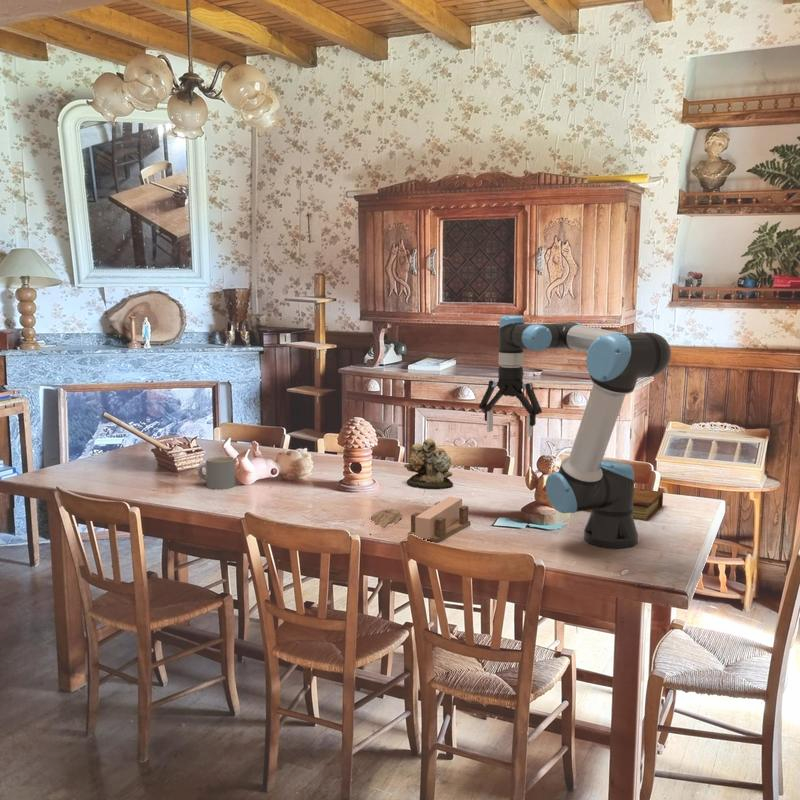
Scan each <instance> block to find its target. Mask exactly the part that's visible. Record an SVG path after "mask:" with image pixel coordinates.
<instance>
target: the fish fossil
mask: <svg viewBox="0 0 800 800" xmlns="http://www.w3.org/2000/svg"><path fill="white" fill-rule="evenodd" d="M372 514H373V513H372ZM368 518H369V517H368ZM370 519H371V520H372V521H374V523H375V525H380V527H382V529H383V528H385V527H386V526H387V525H388V524H392V523H395V524H397V523H398V522H399V521H400V520H401V519H402V513H401V511H400V510H399V509H398V508H387V509H381V510H379V511H376V512H374V514H373V515H372V516H371V518H369V520H370ZM372 521H371V522H372ZM386 528H387V527H386ZM386 528H385V529H386Z"/></svg>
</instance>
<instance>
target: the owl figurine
mask: <svg viewBox="0 0 800 800" xmlns="http://www.w3.org/2000/svg"><path fill="white" fill-rule="evenodd" d="M408 460H409V463H404V466H403V467H404V468H406V469H407V471H408V472H412V473H413V472H414V473H416V474H414V475H412V476H411V477H409V479H407V481H406V483H407V485H408V486H409V487H412V488H417V487H418V488H419V489H422V490H423V489H425V490H445V489H449V488H450V489H451V488H452V487H454V483H453V481H452V480H450V479H449V478H450V477H452V476H453V472H451V471H449V470H450V469H451V466H452V458H451V457H450V456H449V455H448V454H447V452H446V450H445V449H444V448H442V447H438V446H437V445H436V442H435V440H434V439H432V438H426V439H424V441H423V442H422V444H420V443H418V442H417V443H414V444H412V446H411V453H410V456H409V459H408Z"/></svg>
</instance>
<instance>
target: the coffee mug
mask: <svg viewBox="0 0 800 800" xmlns="http://www.w3.org/2000/svg"><path fill="white" fill-rule="evenodd" d="M235 464H236V463H235V457H233V456H229V455H217V456H211V457H207V458H206V460H205V462H201V463H200V464H199V465H198V467H197V475H198V477H199V478H200V479H202V480H204V481H206V487H207V488H208V489H210V490H215V489H217V490H229V489H232V488H234V487H236V466H235ZM203 468H204V469H205V470H206V471H205V472H206V473H205V474H204V473H203Z"/></svg>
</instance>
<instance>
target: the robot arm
mask: <svg viewBox="0 0 800 800" xmlns="http://www.w3.org/2000/svg"><path fill="white" fill-rule="evenodd" d="M551 349H552V350H553V349H568V350H572V351H576V352H577V351H578V352H582V353H586V358H585V361H586V363H587V365H586V368H587V369H586V370H587V371H588V373H589V379H590V381H591V383H592V388H591V391H590V394H589V397H588V400H587V403H586V406H585V409H584V411H583V414H582V417H581V420H580V424H579V427H578V430H577V433H576V436H575V439H574V440H573V441H574V442H573V445H572V448H571V451H570V454H569V456H567V457H565V458H563V459H562V461H561V464H560V466H559V468H558V471H553V472H551V473H550V474H549V475H548V476H547V478H546V480H545V491H546V495H547V499H548V501H549V503H550V505H551V506H552V507H553V508H554V510H556V511H557V512H558V513H561V514H575V513H579V512H585V510H590V509H591V512H590V514H589V517H588V520H587V522H586V525H585V527H584V531H583V539H584V540H585V541H586V542H587V543H589V544H590V545H594V546H597V547H603V548H612V549H623V548H624V549H625V548H630V547H633V546H636V545H637V544H638V541H639V540H638V539H639V533H638V531H637V527H636V523H635V519H633V515H632V513H633V494H634V488H635V481H636V479H635V470H634V467H633V466H632V465H630V464H629V463H626V462H622V461H618V460H611V459H610V460H609V459H604V456H605V453H606V451H607V447H608V445H609V442H610V439H611V437H612V433H613V431H614V428H615V426H616V422H617V421H618V417H619V415H620V411H621V408H622V405H623V403H624V400H625V397H626V396H627V395H629V394H631V393H632V392H633V391H635V387H636V385H637V381H638V379H641V378H651V377H654V376H657V375H659V374H661V373H663V371H665V369H666V368H667V367H668V365H669V364H670V361H671V357H672V349H671V347H670V344H669V342H668V341H667V339H665V337H664V336H662V335H660V334H659V333H656V332H647V331H646V332H643V331H638V332H637V331H636V332H632V333H626V332H619V331H615V330H609V329H602V328H597V327H591V326H585V325H583V324H582V323H580V322H571V321H570V322H559V323H533V324H532V323H525V318H524V316H521V315H503V316H501V317H500V318H499V326H498V365H499V367H498V371H497V372H498V374H497V377H498V381H497V380H495V379H490V380H489V381H488V385H487V386H488V387H487V389H486V391H485V393H484V395H483V397H482V399H481V401H480V403H479V406H478V408H479V410H480V409H481V410H483V411H484V422H486V432H487V433H491V432H493V430H494V428H493V426H494V420H493V419H494V411H493V410H492V409H493V407H494V406H495V405H496V404H497V403H498V401H499V400H500V399H501V398H502V397H503V396H504V397H507V396H509V397H516V398H517V399H518V401H519V402H520V403H521V405H522V406H523V408H524V409H525V410H526V411H527V416H526V437H527V438H530V437H532V436H533V432H534V431H533V429H534V428H533V427H534V426H536V420H537V418H536V416H537V415H539V414H541V413H542V411H543V410H542V408H541V405H540V402H539V401H538V399H537V396H536V394H535V391H534V387H533V386H534V385H533V382H527V383H524V382H523V378H524V368H523V366H524V350H530V351H531V352H536V351H537V352H539V351H545V350H551ZM496 387H497V388H498V391H497V392H496V394H495V395H493V397H492V394H493V392H494V391H495V388H496ZM523 389H524V390H525V392H526V394H527V397H526V396H525V394H524V392H523ZM491 397H492V398H491Z"/></svg>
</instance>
